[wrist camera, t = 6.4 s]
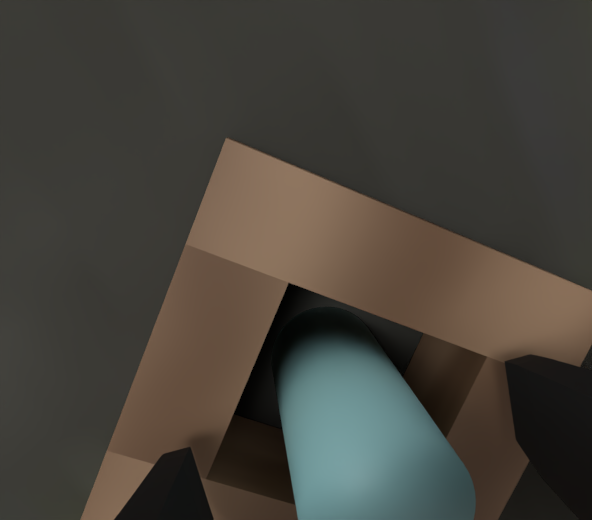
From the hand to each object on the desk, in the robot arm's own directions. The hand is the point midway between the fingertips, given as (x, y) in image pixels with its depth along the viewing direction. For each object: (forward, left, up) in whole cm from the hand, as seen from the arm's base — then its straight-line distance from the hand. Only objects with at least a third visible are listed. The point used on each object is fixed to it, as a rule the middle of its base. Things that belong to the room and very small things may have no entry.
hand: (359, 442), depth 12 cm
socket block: (0, 0, -5) cm, 5 cm away
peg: (0, 0, -5) cm, 5 cm away
